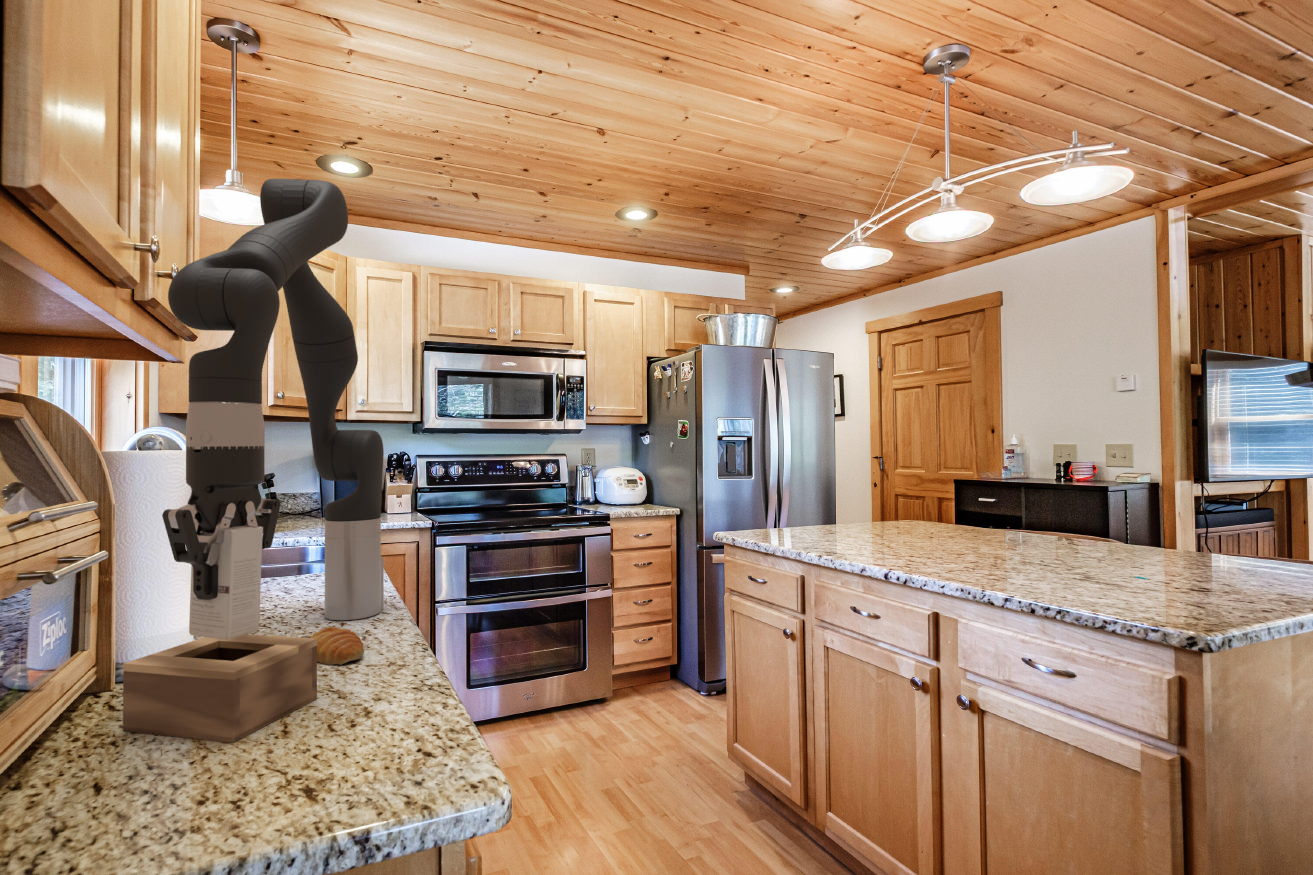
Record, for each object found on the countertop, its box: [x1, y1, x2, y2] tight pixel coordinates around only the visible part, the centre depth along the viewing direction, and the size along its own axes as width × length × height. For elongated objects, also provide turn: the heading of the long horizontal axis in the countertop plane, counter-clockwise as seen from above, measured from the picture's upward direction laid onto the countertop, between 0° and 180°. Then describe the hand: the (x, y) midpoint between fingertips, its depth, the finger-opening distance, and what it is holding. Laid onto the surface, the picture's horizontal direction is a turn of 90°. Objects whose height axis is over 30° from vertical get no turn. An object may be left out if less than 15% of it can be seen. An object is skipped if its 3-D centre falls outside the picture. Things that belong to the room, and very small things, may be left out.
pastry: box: [309, 626, 365, 666], centre depth 95 cm, size 9×7×4 cm
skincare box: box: [188, 526, 264, 639], centre depth 76 cm, size 6×4×12 cm
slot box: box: [122, 633, 318, 744], centre depth 75 cm, size 12×14×7 cm
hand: (226, 592), depth 75 cm, fingers closed on skincare box, 4 cm apart
